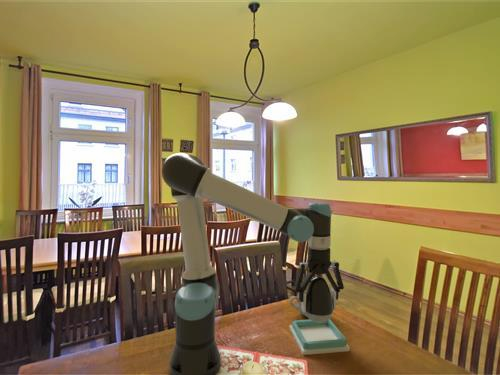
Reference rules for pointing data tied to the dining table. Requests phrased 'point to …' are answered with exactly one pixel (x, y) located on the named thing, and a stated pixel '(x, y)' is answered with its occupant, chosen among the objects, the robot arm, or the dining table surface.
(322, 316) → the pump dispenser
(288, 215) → the robot arm
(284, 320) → the dining table surface
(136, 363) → the dining table surface
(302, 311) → the teacup
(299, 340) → the dock
